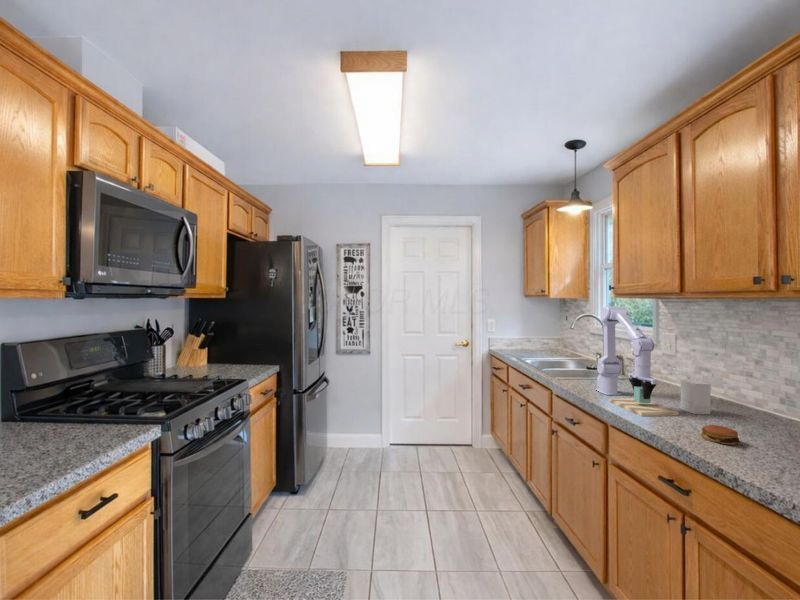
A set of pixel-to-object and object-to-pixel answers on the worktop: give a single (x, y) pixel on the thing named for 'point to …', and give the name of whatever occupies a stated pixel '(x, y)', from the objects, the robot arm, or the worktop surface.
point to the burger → (720, 434)
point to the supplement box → (695, 396)
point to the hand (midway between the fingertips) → (642, 397)
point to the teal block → (640, 395)
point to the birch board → (644, 408)
